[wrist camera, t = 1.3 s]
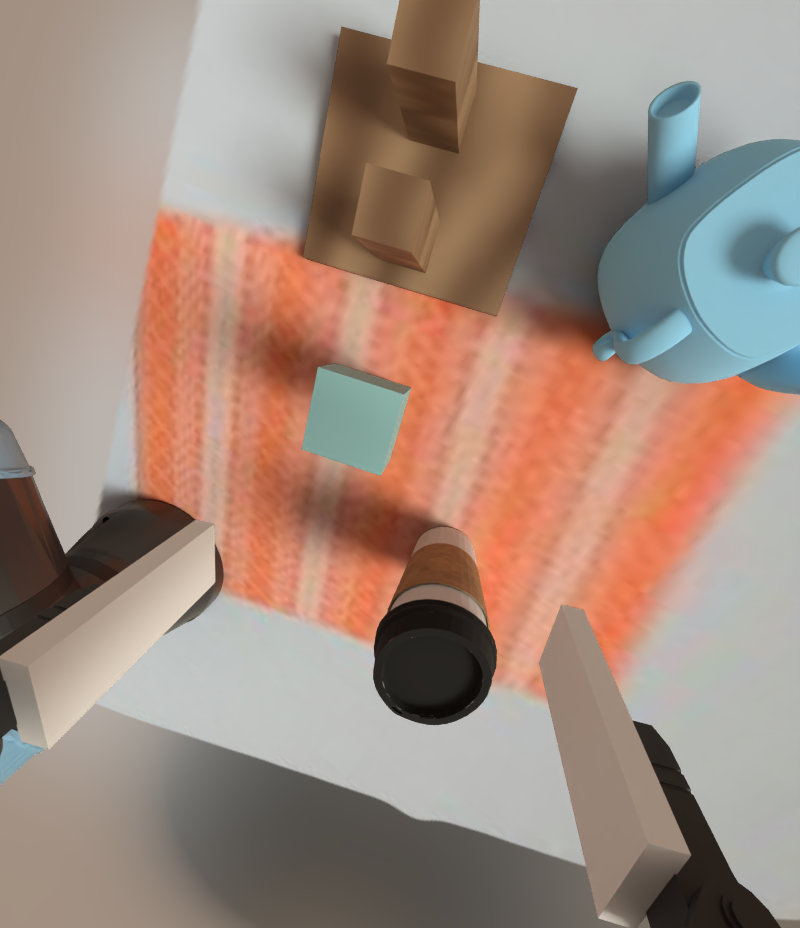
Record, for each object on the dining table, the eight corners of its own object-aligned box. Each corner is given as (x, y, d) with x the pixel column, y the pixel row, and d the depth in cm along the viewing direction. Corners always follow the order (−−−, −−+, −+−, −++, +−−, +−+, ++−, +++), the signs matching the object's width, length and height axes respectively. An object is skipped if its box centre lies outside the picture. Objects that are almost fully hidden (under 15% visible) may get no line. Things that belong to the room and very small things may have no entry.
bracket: (308, 259, 31) (248, 231, 22) (346, 37, 26) (287, -105, 17) (496, 316, 30) (507, 309, 21) (573, 97, 25) (627, -23, 16)
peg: (346, 417, 35) (301, 449, 25) (361, 357, 33) (317, 367, 23) (404, 436, 34) (380, 475, 25) (422, 376, 32) (404, 394, 23)
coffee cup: (386, 554, 39) (341, 678, 25) (438, 498, 36) (419, 603, 22) (450, 602, 39) (440, 749, 25) (506, 550, 36) (530, 686, 22)
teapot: (852, 183, 24) (1152, 66, 13) (747, 395, 29) (908, 431, 18) (605, 153, 26) (701, 26, 15) (545, 358, 30) (585, 372, 20)
